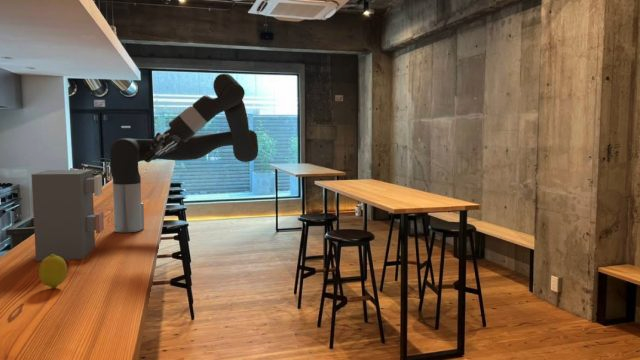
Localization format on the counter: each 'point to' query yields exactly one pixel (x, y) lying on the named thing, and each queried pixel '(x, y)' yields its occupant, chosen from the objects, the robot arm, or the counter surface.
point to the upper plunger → (94, 185)
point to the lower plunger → (95, 222)
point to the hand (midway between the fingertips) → (144, 160)
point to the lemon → (53, 271)
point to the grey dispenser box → (62, 214)
